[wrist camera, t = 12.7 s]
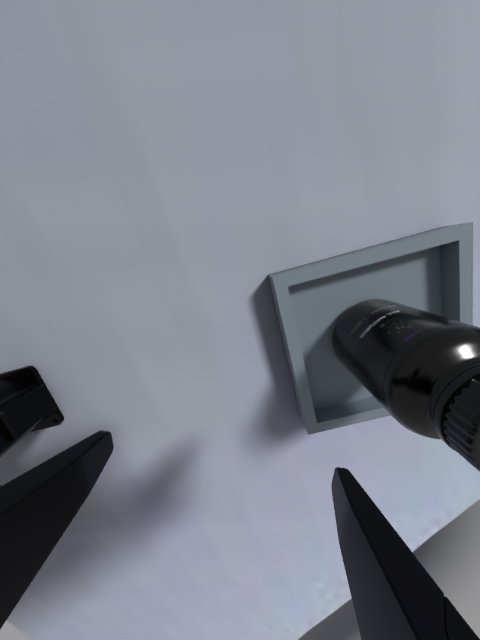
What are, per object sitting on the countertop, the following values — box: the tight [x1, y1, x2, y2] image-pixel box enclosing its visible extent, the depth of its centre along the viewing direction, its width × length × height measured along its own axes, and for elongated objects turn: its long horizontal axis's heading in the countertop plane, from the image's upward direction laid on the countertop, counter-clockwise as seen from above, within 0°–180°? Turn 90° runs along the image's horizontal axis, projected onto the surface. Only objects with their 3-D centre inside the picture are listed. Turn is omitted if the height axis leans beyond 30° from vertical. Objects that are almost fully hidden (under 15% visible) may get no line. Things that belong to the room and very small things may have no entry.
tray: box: [268, 222, 473, 434], centre depth 20 cm, size 15×15×2 cm
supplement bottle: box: [332, 299, 480, 471], centre depth 15 cm, size 7×7×12 cm
